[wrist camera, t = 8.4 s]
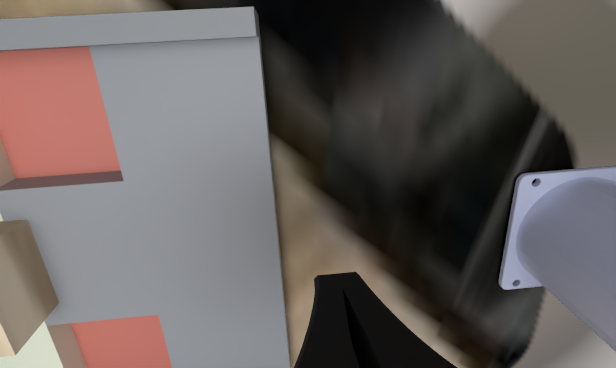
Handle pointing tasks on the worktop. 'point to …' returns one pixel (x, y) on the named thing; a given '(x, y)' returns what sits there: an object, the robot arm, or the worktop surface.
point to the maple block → (22, 287)
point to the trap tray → (145, 188)
